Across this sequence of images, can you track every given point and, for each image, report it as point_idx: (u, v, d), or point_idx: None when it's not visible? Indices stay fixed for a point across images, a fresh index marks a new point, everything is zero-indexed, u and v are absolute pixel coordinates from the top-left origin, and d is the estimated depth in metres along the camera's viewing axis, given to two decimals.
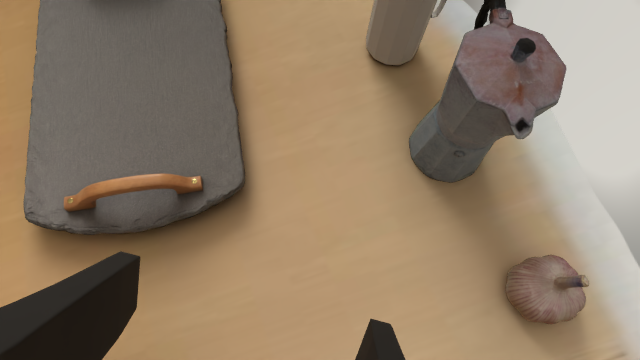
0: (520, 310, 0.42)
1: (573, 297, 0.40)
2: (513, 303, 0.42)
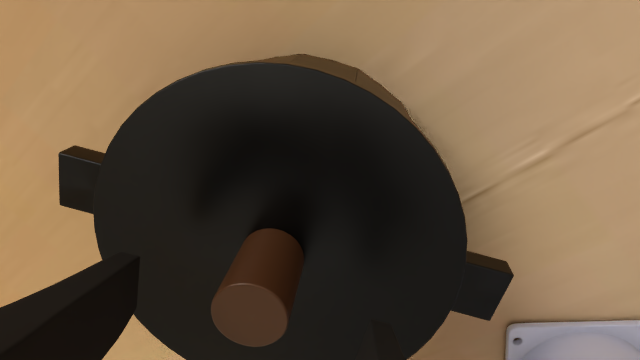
0: None
1: None
2: None
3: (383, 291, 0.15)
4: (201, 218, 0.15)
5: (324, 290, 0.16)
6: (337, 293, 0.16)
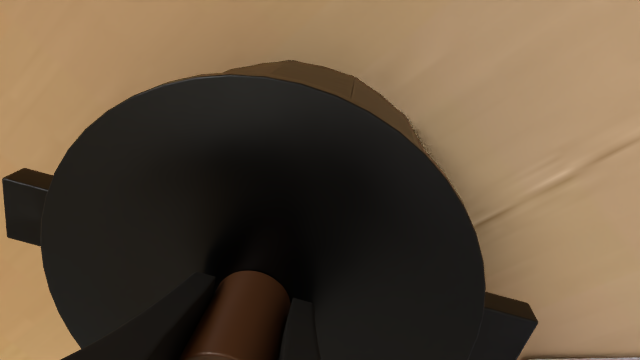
0: None
1: None
2: None
3: (384, 343, 0.13)
4: (168, 258, 0.13)
5: None
6: (330, 344, 0.13)
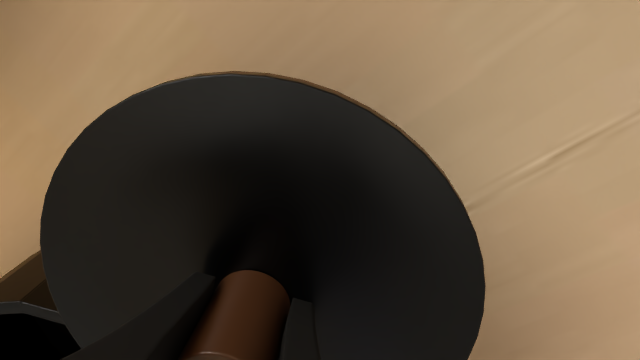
0: None
1: None
2: None
3: (384, 343, 0.13)
4: (167, 257, 0.13)
5: None
6: (330, 344, 0.13)
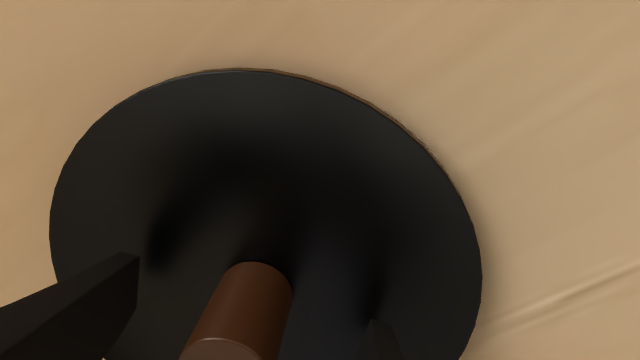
0: None
1: None
2: None
3: None
4: (173, 249, 0.13)
5: (316, 331, 0.14)
6: (331, 334, 0.14)
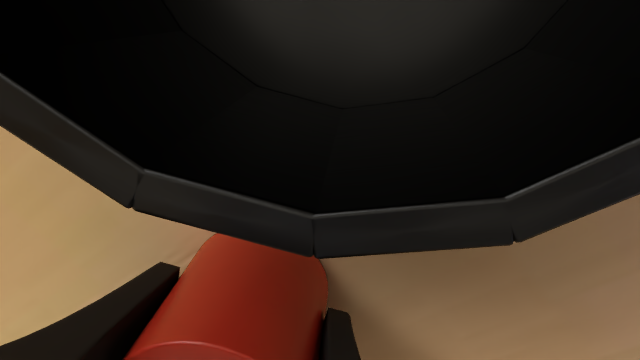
0: None
1: None
2: None
3: None
4: None
5: None
6: None
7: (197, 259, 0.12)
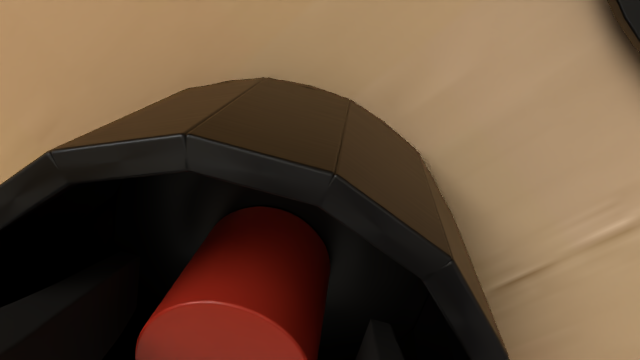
0: None
1: None
2: None
3: None
4: None
5: None
6: None
7: (211, 237, 0.13)
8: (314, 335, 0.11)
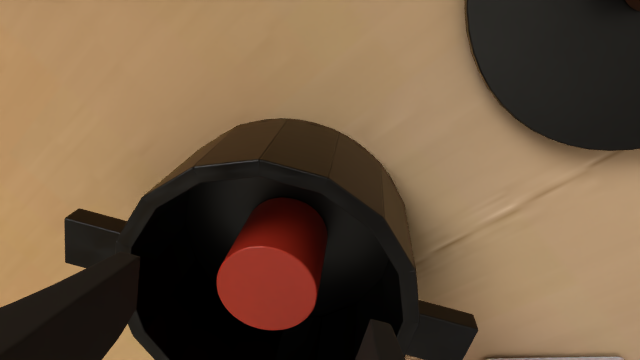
0: None
1: None
2: None
3: None
4: None
5: None
6: None
7: (253, 215, 0.21)
8: (317, 269, 0.19)
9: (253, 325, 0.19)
